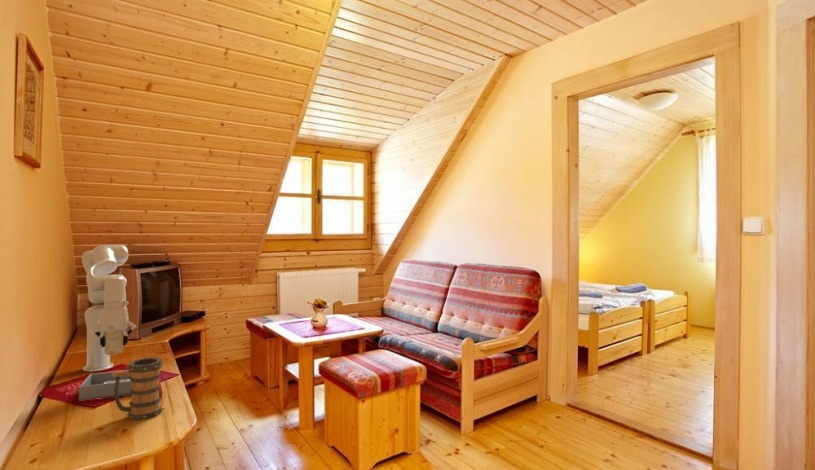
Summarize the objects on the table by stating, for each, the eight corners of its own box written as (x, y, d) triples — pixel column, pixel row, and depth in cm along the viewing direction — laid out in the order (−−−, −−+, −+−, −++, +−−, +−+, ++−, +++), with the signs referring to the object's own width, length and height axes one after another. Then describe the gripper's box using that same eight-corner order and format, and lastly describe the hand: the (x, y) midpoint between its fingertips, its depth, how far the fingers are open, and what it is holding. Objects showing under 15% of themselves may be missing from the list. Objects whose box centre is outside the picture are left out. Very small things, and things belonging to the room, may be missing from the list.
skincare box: (107, 355, 185) (107, 327, 185) (103, 353, 188) (104, 325, 188) (124, 352, 190) (124, 324, 190) (120, 350, 193) (120, 323, 193)
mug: (164, 417, 162) (164, 363, 162) (109, 427, 154) (109, 370, 154) (164, 405, 174) (165, 355, 174) (113, 413, 165) (113, 361, 165)
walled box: (89, 387, 193) (89, 374, 193) (147, 380, 202) (147, 368, 202) (78, 401, 177) (78, 387, 177) (141, 393, 186) (141, 379, 186)
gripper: (139, 302, 196) (138, 341, 196) (92, 304, 189) (92, 345, 189) (136, 305, 189) (136, 345, 189) (87, 307, 182) (87, 349, 182)
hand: (114, 345), depth 189 cm, fingers closed on skincare box, 7 cm apart
